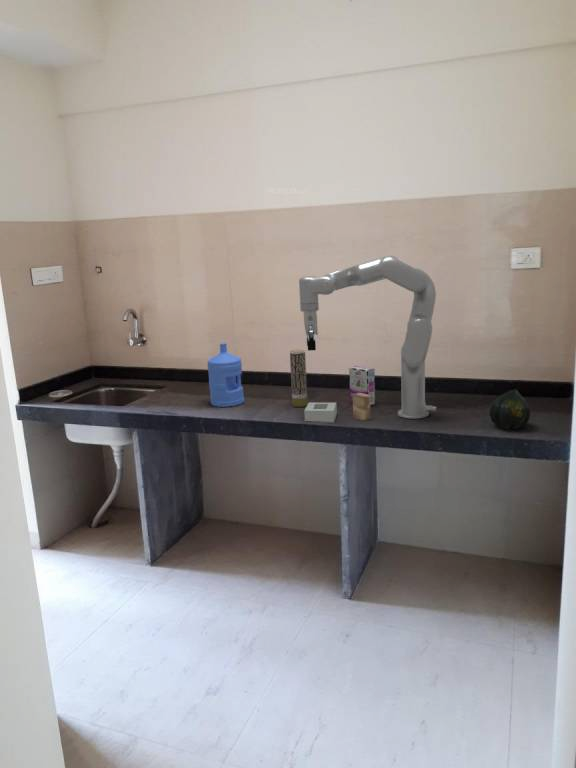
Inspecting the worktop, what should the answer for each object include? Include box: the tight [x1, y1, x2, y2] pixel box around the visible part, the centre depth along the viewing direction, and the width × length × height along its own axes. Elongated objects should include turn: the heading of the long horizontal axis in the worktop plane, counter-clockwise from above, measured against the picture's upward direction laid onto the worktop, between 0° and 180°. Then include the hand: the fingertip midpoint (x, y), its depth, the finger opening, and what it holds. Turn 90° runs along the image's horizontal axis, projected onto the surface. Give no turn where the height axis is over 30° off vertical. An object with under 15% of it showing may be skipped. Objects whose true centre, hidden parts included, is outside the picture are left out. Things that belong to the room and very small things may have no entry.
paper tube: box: [289, 349, 308, 408], centre depth 284 cm, size 7×7×25 cm
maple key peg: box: [352, 393, 371, 421], centre depth 263 cm, size 4×6×10 cm, turn 40°
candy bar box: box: [348, 365, 376, 407], centre depth 283 cm, size 11×5×16 cm, turn 42°
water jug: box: [207, 343, 245, 408], centre depth 294 cm, size 16×16×28 cm
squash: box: [489, 388, 531, 431], centre depth 243 cm, size 14×15×15 cm
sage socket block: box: [303, 402, 338, 423], centre depth 266 cm, size 12×12×5 cm
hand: (311, 348), depth 265 cm, fingers open, 9 cm apart
